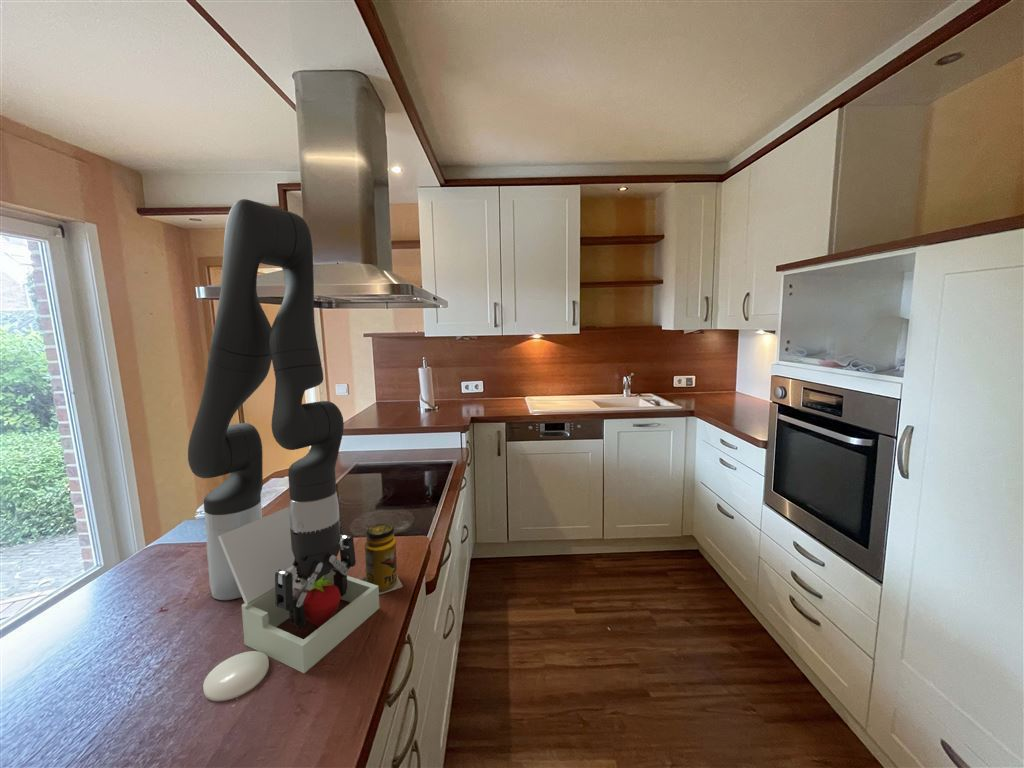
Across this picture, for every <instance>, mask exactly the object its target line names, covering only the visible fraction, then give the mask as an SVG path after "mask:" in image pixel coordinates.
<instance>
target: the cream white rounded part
mask: <svg viewBox="0 0 1024 768" xmlns="http://www.w3.org/2000/svg"><path fill="white" fill-rule="evenodd" d="M269 667H270V663H269V656H267V655H266V654H264V653H262V652H259V651H257V650H253V651H252V650H251V651H245V652H241V653H237V654H235V655H232V656H230V657H228V658H227V659H224V660H223V661H221V662H220V663H219V664H217V665H216V666H215V667H214V668H213V669H212V670H210V672H209V673H208V674H207V675H206V676H205V679H204V680H203V686H202V688H203V694H204V696H205V698H206V699H207V700H210V701H211V702H226V701H229V700H232V699H236V698H239V697H241V696H242V695H245V694H247V693H248V692H249V691H251V690H252V689H254V688H256V686H257V685H259V684H260V683H261V682H262V681H263V680H264V679H265V677H266V675H267V674H268V672H269Z"/></svg>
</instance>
